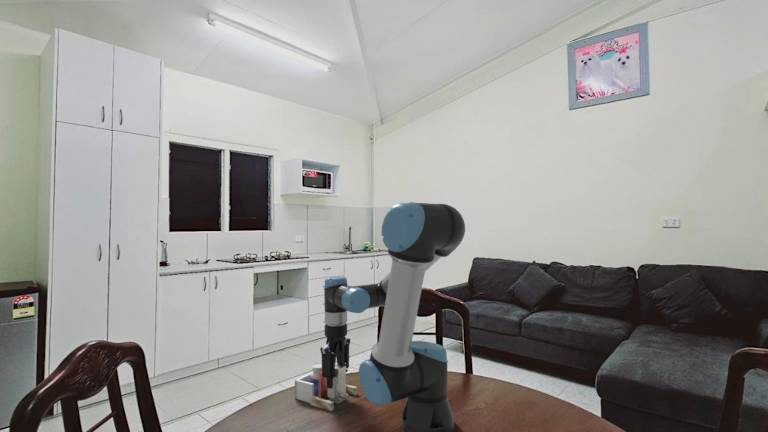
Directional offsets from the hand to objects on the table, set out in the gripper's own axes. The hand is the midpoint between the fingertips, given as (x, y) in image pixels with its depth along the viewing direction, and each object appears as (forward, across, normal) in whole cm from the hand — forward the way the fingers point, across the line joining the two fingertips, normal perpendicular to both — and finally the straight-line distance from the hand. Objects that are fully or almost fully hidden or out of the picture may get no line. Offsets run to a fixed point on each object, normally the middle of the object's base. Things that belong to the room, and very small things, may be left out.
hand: (336, 394), depth 128 cm
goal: (+2, 0, -9) cm, 9 cm away
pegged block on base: (+2, 0, +1) cm, 2 cm away
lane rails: (+2, 0, -1) cm, 2 cm away
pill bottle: (+2, 0, -8) cm, 8 cm away
